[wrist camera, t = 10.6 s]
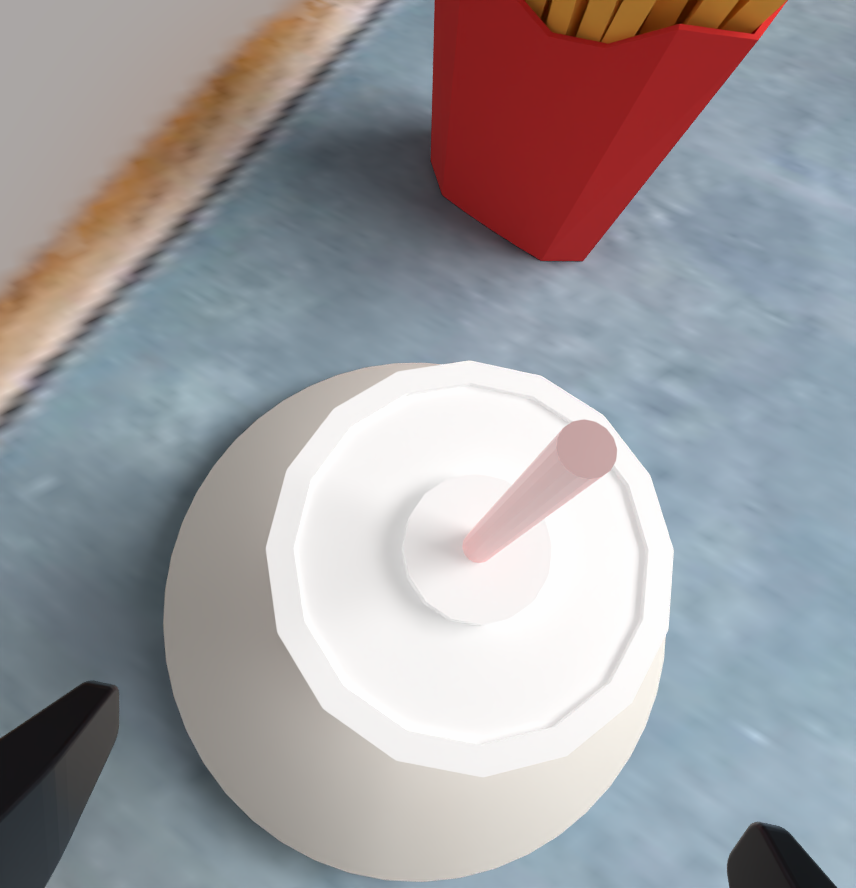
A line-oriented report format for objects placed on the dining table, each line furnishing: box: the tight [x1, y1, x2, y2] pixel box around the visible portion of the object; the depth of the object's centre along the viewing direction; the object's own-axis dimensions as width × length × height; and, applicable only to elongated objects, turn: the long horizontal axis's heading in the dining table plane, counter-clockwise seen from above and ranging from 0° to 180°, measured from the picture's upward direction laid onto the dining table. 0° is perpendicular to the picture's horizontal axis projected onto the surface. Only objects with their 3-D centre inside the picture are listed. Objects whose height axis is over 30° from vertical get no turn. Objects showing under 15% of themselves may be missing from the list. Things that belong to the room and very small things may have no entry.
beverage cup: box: [266, 361, 674, 777], centre depth 12 cm, size 6×6×14 cm
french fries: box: [431, 0, 788, 261], centre depth 18 cm, size 9×4×13 cm, turn 55°
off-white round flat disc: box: [163, 363, 666, 882], centre depth 19 cm, size 14×14×1 cm
